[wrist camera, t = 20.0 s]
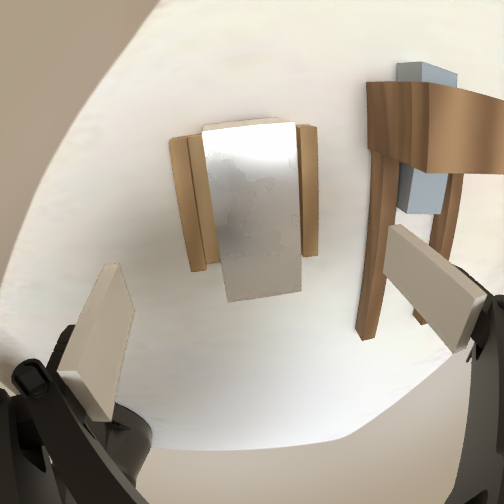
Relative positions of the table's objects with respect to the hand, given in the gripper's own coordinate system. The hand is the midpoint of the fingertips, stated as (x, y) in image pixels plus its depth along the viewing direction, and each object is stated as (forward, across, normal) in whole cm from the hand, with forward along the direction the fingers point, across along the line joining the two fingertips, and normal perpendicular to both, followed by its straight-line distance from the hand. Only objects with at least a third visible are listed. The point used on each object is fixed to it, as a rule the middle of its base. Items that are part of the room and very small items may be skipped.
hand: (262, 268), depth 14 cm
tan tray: (+10, +1, 0) cm, 11 cm away
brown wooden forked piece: (+10, +16, -3) cm, 19 cm away
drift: (+10, +15, +5) cm, 19 cm away
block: (+10, +1, +1) cm, 10 cm away
